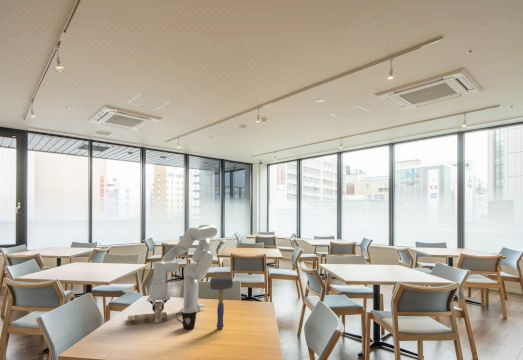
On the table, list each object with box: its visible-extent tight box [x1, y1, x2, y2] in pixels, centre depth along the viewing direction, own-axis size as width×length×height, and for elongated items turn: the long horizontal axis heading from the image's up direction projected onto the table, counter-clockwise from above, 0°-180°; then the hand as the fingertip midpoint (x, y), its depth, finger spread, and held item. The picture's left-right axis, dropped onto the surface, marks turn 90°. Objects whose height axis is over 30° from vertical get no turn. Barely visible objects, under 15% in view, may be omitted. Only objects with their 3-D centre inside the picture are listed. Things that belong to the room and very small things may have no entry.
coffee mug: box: [175, 308, 198, 331], centre depth 192 cm, size 12×9×10 cm
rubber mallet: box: [209, 275, 234, 330], centre depth 193 cm, size 12×8×30 cm, turn 112°
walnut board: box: [127, 311, 169, 326], centre depth 204 cm, size 23×10×3 cm, turn 112°
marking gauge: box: [154, 300, 163, 323], centre depth 205 cm, size 4×14×10 cm, turn 22°
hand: (157, 310), depth 206 cm, fingers closed on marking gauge, 4 cm apart
